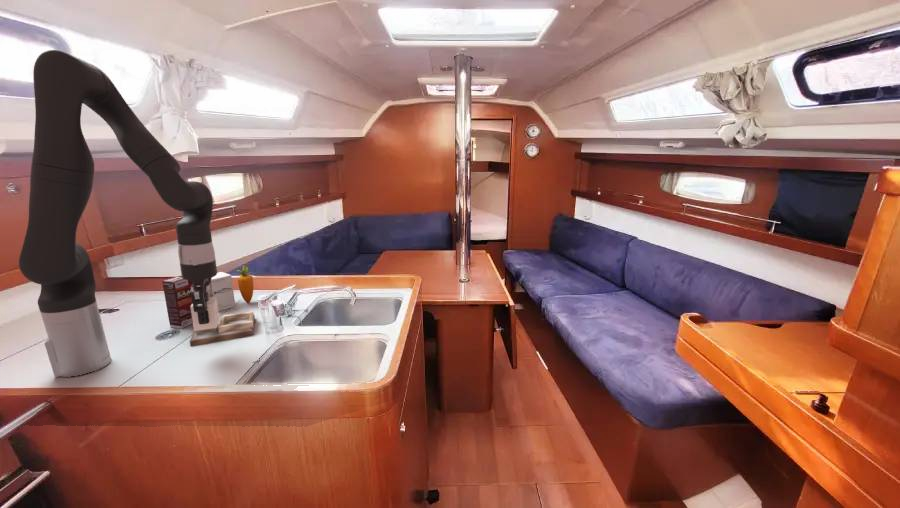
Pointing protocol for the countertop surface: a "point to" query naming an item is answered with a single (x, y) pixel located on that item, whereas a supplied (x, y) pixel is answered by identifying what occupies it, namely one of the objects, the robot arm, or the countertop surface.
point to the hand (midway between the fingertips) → (206, 318)
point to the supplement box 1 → (178, 301)
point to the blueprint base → (226, 329)
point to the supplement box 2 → (223, 290)
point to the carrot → (245, 284)
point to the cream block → (212, 316)
